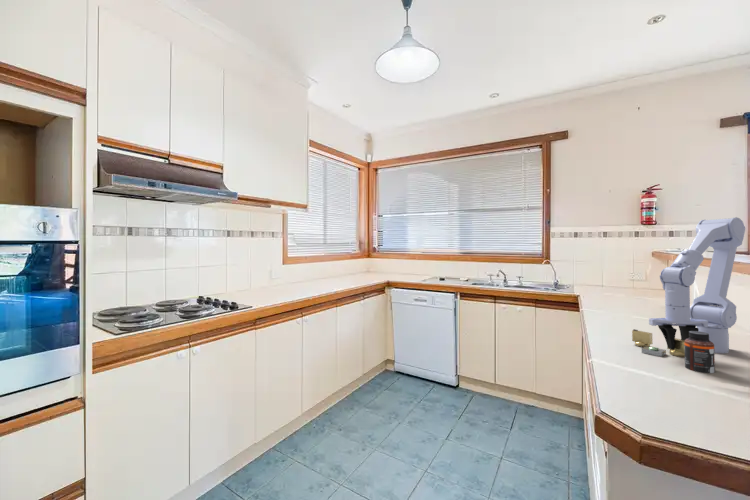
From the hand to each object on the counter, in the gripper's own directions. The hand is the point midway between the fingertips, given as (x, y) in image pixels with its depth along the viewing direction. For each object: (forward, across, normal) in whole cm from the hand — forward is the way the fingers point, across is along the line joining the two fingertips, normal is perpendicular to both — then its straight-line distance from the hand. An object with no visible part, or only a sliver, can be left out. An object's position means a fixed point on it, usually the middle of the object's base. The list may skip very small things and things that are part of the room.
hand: (678, 349), depth 104 cm
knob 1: (+2, +6, -9) cm, 11 cm away
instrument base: (+3, +4, -3) cm, 6 cm away
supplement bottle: (+3, +2, +13) cm, 13 cm away
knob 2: (+2, 0, 0) cm, 2 cm away
